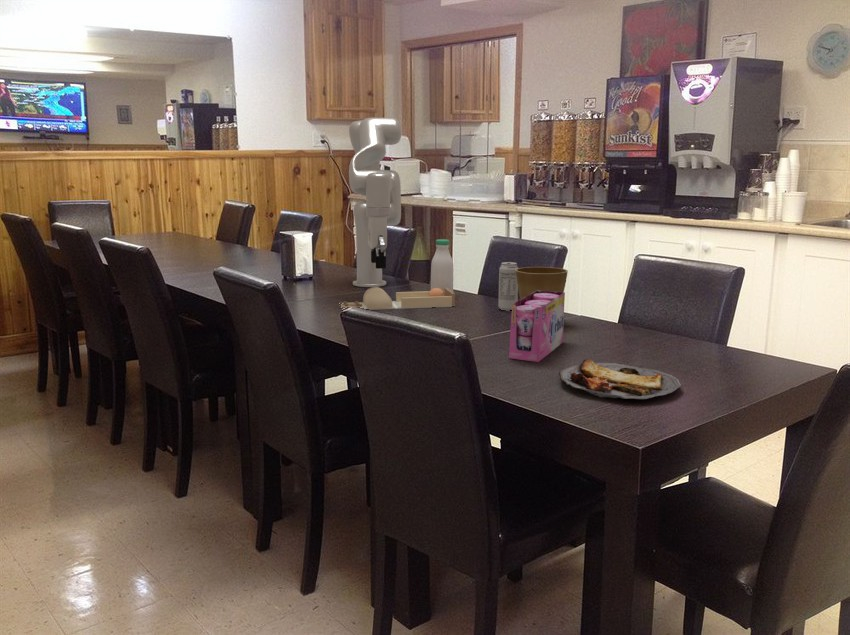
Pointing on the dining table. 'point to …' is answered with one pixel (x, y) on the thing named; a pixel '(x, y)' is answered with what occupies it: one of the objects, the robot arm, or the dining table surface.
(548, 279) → the plant pot
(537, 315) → the gum box
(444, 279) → the milk bottle
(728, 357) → the dining table surface
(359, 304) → the tee
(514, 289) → the energy drink can
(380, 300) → the lane
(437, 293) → the ball
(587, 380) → the food plate
